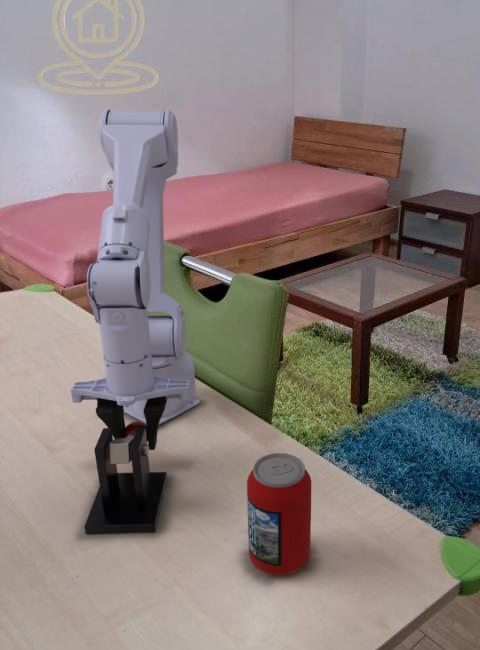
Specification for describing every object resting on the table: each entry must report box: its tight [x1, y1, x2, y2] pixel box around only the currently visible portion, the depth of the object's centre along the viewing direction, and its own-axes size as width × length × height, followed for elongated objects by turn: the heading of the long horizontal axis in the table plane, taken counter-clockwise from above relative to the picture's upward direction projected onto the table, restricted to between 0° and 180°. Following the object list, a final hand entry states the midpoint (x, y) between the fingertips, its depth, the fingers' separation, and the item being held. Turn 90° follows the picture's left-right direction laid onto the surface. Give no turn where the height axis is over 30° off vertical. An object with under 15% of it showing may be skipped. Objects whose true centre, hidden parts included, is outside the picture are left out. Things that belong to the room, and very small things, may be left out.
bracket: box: [84, 427, 168, 535], centre depth 76 cm, size 10×8×10 cm
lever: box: [110, 420, 148, 465], centre depth 79 cm, size 12×3×3 cm, turn 3°
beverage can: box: [246, 452, 312, 576], centre depth 67 cm, size 7×7×12 cm
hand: (137, 446), depth 83 cm, fingers closed on lever, 3 cm apart
